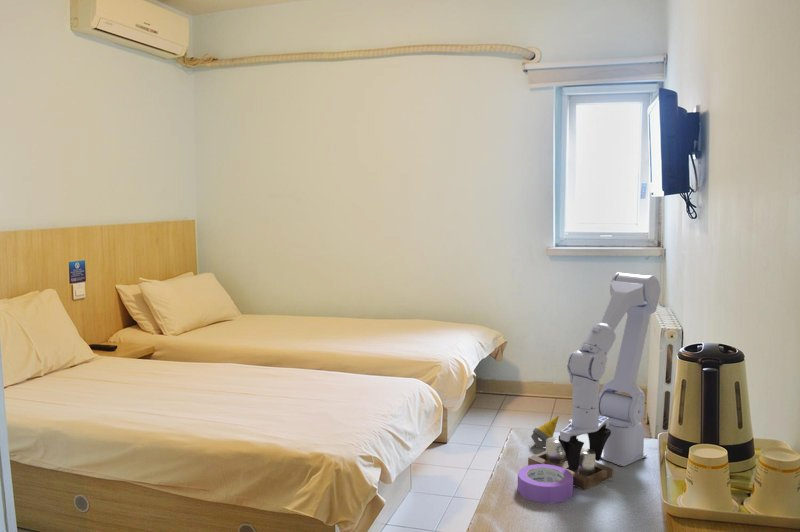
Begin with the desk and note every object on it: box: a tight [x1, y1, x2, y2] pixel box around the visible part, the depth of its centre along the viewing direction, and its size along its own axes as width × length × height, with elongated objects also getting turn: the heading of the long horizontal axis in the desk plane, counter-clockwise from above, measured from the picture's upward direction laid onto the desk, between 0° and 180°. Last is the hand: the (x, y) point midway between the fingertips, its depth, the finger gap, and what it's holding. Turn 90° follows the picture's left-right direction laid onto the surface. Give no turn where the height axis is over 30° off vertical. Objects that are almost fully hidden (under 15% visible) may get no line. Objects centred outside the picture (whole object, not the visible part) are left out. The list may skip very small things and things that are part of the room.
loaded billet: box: [545, 436, 565, 464], centre depth 164 cm, size 4×4×6 cm
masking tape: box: [517, 464, 574, 504], centre depth 152 cm, size 12×12×4 cm
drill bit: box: [530, 415, 560, 448], centre depth 177 cm, size 5×5×10 cm
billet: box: [575, 447, 596, 477], centre depth 158 cm, size 4×4×6 cm
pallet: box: [527, 450, 614, 491], centre depth 161 cm, size 10×16×2 cm, turn 37°
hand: (584, 463), depth 158 cm, fingers open, 7 cm apart
